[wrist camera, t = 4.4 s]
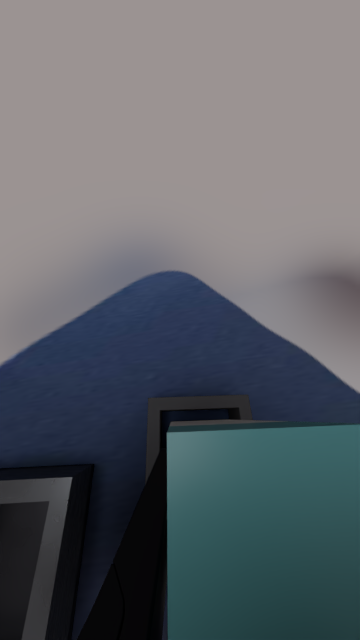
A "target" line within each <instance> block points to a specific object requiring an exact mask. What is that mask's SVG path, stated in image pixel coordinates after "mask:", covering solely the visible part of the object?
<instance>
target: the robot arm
mask: <svg viewBox="0 0 360 640" xmlns="http://www.w3.org/2000/svg"><path fill="white" fill-rule="evenodd" d="M113 563H114V564H111V566H110V569H109V571H108V573H107V576H106V578H105V580H104V583H103V585H102V587H101V590H100V592H99V594H98V596H97V598H96V601H95V603H94V605H93V607H92V610H91V612H90V614H89V616H88V618H87V620H86V622H85V624H84V626H83V628H82V630H81V632H80V634H79V636H78V638H77V640H162V631H163V619H164V606H165V594H166V582H167V448H162V449H160V451H159V454H158V456H157V458H156V461H155V463H154V465H153V468H152V470H151V472H150V475H149V477H148V480H147V482H146V484H145V487H144V489H143V491H142V494H141V496H140V498H139V501H138V503H137V505H136V508H135V510H134V513H133V515H132V517H131V520H130V522H129V524H128V527H127V529H126V531H125V534H124V536H123V538H122V541H121V543H120V546H119V548H118V550H117V553H116V555H115V557H114V560H113Z"/></svg>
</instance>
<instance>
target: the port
mask: <svg viewBox="0 0 360 640" xmlns="http://www.w3.org/2000/svg"><path fill="white" fill-rule="evenodd" d="M93 470H94V464H82V465H61V466H41V467H20V468H0V640H71V636H72V628H73V621H74V613H75V605H76V598H77V590H78V583H79V575H80V568H81V560H82V553H83V545H84V538H85V530H86V523H87V515H88V507H89V500H90V492H91V485H92V477H93Z"/></svg>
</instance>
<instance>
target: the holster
mask: <svg viewBox="0 0 360 640" xmlns="http://www.w3.org/2000/svg"><path fill="white" fill-rule="evenodd" d="M213 409H228V413H229V420H253V419H252V414H251V408H250V403H249V397H248V395H224V396H194V397H165V398H148V423H147V451H146V479H145V484H146V482H147V480H148V477H149V475H150V472H151V470H152V468H153V465H154V463H155V461H156V458H157V456H158V454H159V451H160V449H162V411H186V410H213Z"/></svg>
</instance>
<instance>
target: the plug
mask: <svg viewBox="0 0 360 640" xmlns="http://www.w3.org/2000/svg"><path fill="white" fill-rule="evenodd" d="M167 574H168V640H360V424H356V423H324V422H291V421H259V420H226V419H224V420H198V421H173V422H171V423H170V426H169V428H168V431H167Z"/></svg>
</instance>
